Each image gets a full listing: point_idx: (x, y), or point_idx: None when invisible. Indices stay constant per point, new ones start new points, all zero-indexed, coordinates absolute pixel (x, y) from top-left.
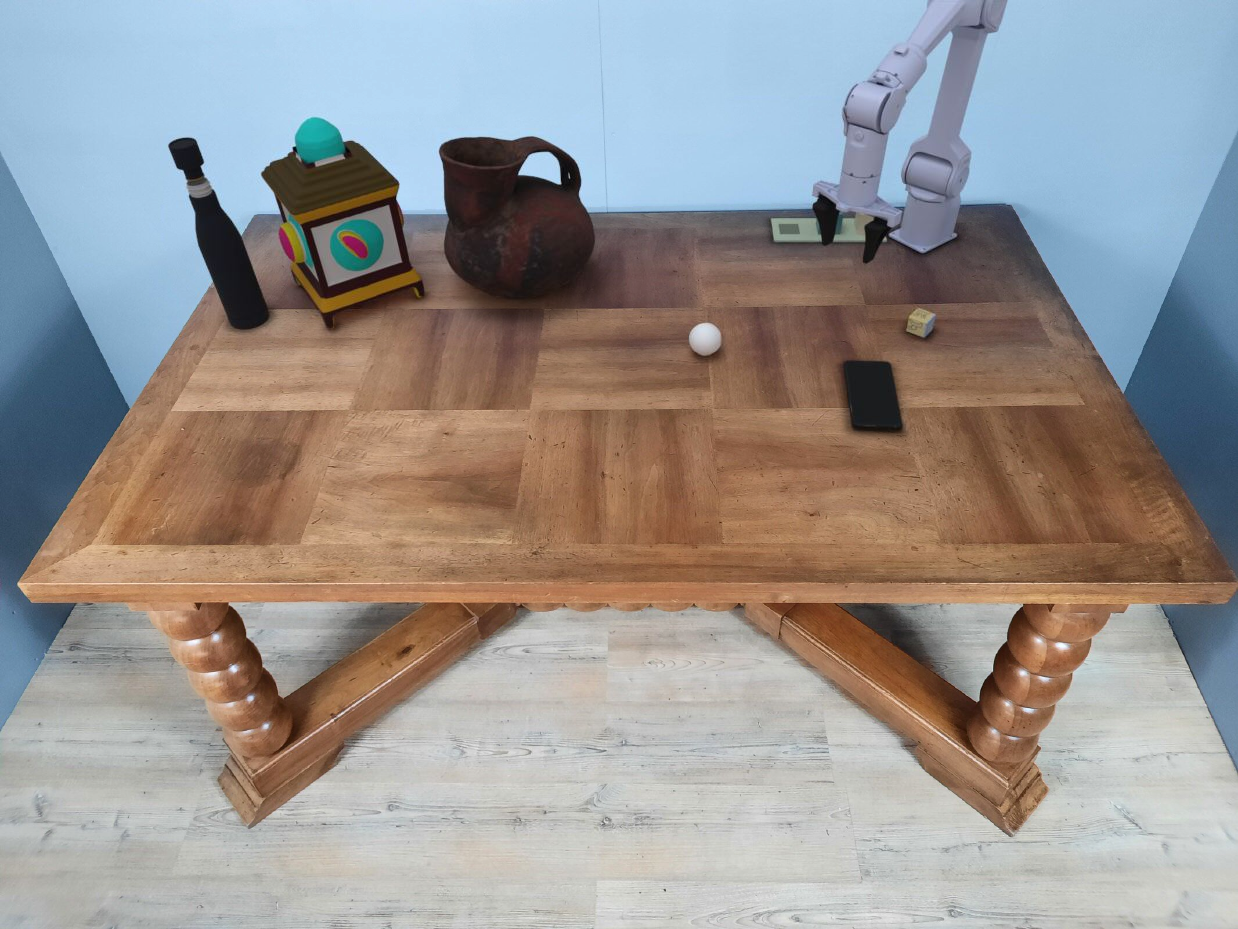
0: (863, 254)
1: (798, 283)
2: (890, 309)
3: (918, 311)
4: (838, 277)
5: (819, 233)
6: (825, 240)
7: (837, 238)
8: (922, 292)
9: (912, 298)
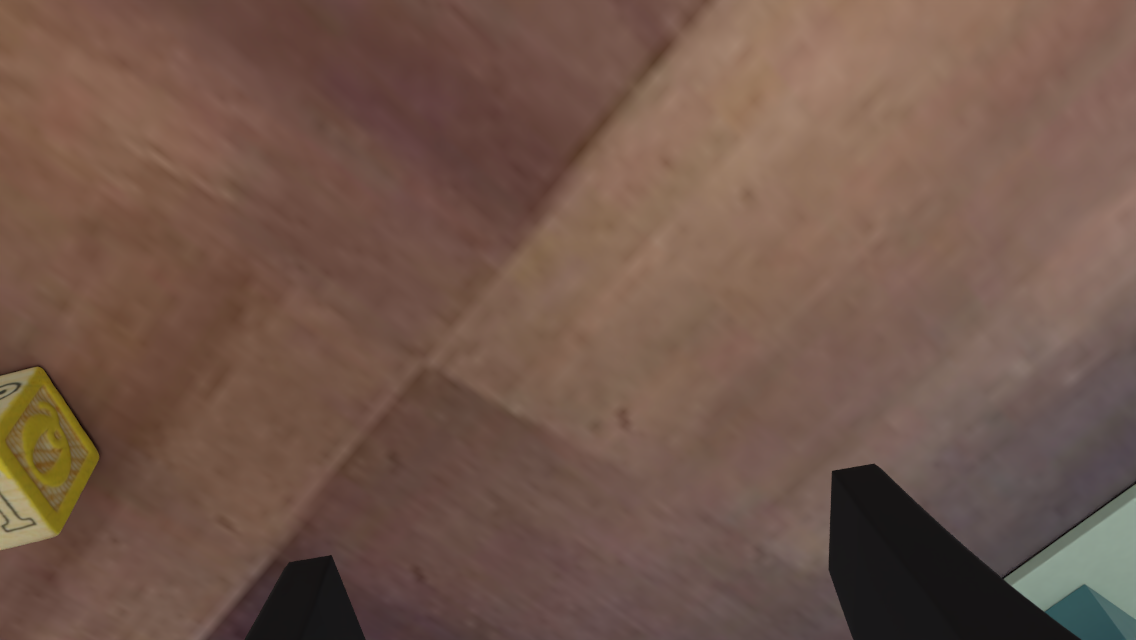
0: (297, 633)
1: (897, 203)
2: (300, 439)
3: (11, 512)
4: (746, 426)
5: (1082, 593)
6: (862, 517)
7: None
8: None
9: None
